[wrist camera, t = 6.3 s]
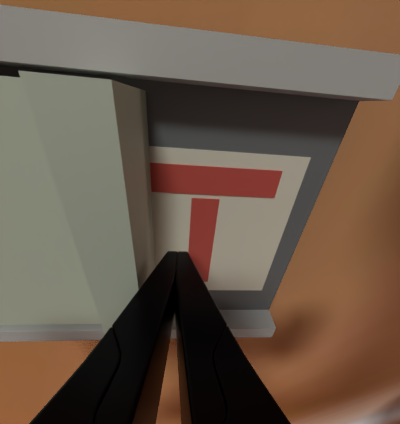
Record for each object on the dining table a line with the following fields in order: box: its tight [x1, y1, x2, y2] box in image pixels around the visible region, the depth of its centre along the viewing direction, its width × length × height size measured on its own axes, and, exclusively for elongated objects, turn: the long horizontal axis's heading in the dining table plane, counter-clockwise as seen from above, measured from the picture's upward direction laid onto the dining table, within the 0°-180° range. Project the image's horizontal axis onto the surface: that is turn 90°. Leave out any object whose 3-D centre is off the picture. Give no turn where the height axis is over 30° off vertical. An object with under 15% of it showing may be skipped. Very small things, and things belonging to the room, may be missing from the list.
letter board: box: [0, 5, 400, 342], centre depth 9 cm, size 22×14×3 cm, turn 86°
